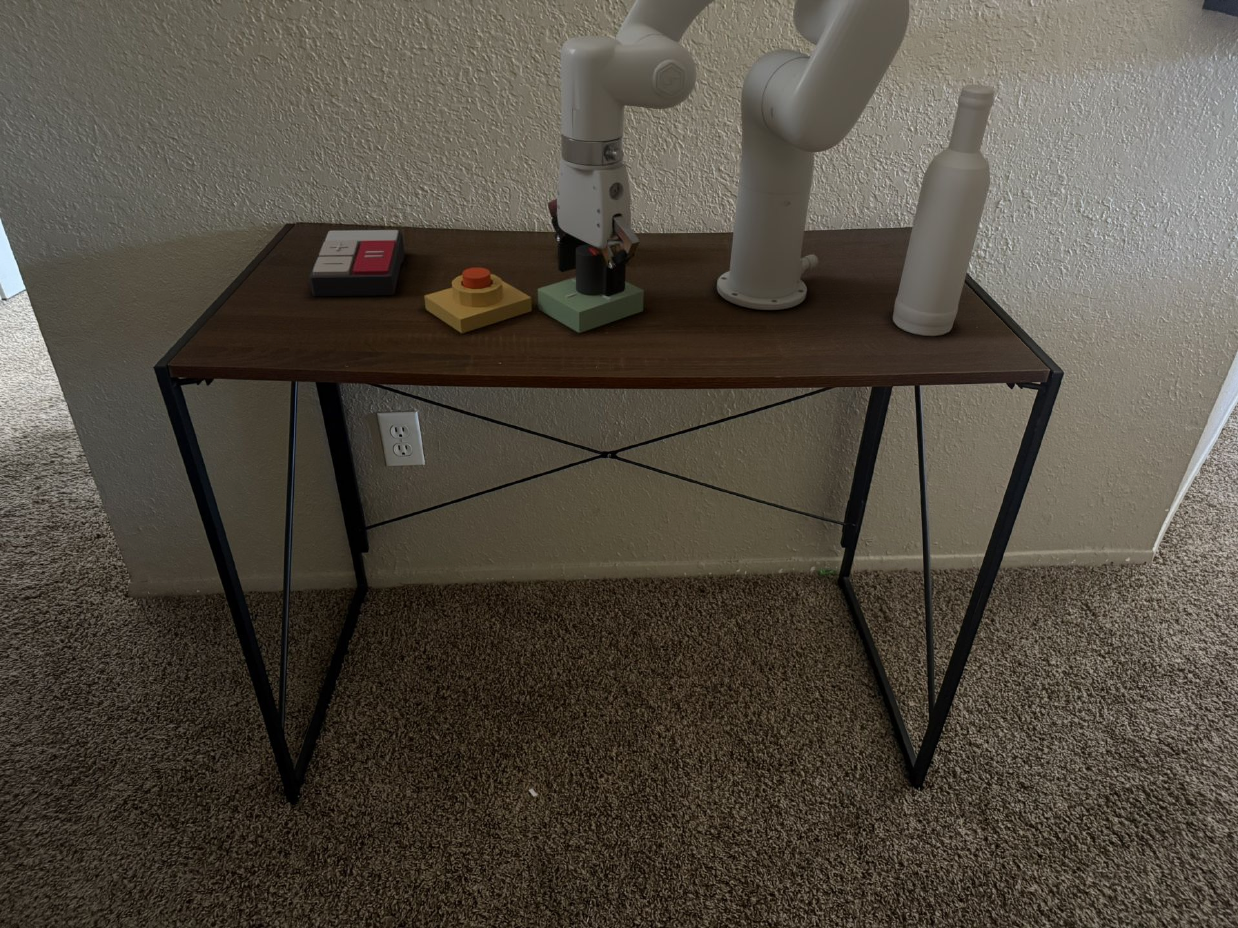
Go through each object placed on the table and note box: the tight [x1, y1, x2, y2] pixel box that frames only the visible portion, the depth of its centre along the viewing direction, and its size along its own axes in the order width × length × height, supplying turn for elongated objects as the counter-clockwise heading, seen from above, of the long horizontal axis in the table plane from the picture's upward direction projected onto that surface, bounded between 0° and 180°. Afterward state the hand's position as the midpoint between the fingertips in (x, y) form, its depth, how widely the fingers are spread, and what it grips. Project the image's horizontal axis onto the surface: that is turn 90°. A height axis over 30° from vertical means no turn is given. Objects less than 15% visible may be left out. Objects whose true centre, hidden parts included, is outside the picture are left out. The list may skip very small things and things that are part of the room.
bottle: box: [892, 83, 996, 337], centre depth 113 cm, size 8×8×30 cm
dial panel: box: [537, 276, 645, 334], centre depth 121 cm, size 11×9×3 cm
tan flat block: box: [423, 273, 533, 334], centre depth 120 cm, size 11×9×4 cm
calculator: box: [308, 229, 405, 297], centre depth 128 cm, size 11×4×15 cm
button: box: [461, 267, 491, 289], centre depth 118 cm, size 4×4×2 cm
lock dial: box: [575, 244, 607, 295], centre depth 119 cm, size 4×4×6 cm
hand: (590, 281), depth 120 cm, fingers open, 9 cm apart
